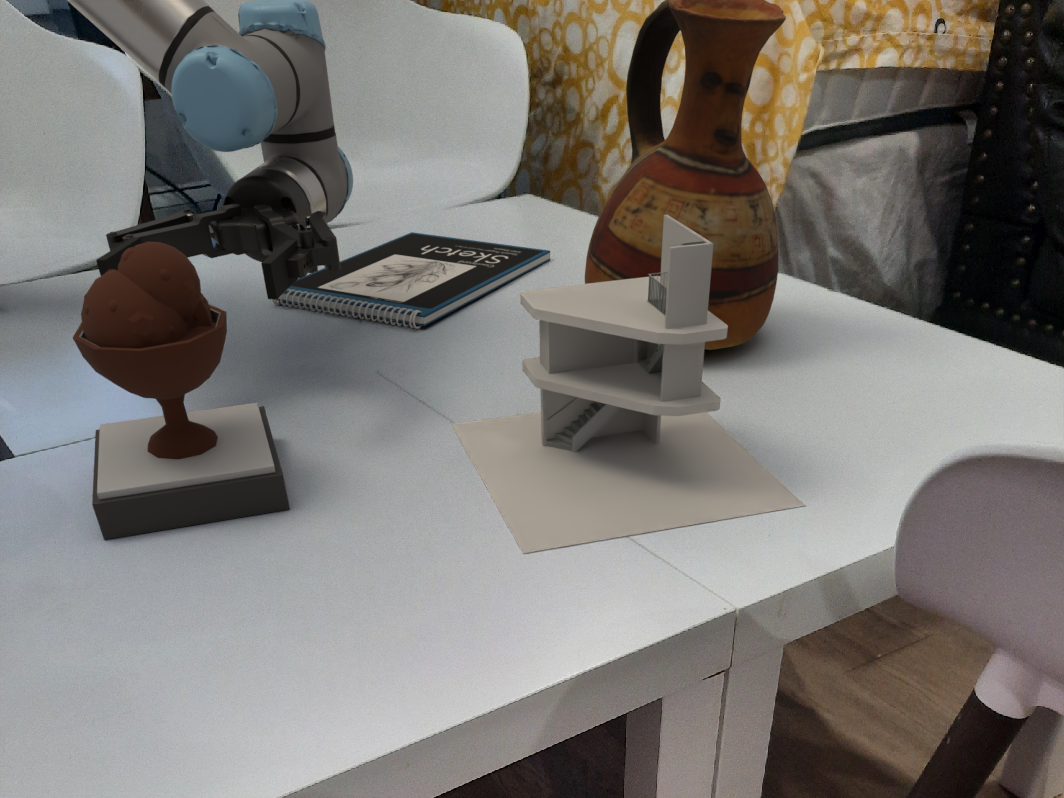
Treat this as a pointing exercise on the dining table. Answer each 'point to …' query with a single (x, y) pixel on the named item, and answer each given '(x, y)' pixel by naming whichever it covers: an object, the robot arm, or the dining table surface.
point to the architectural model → (621, 414)
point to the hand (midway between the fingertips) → (186, 279)
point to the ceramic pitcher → (696, 162)
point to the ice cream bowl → (155, 339)
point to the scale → (186, 474)
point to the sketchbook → (413, 278)
